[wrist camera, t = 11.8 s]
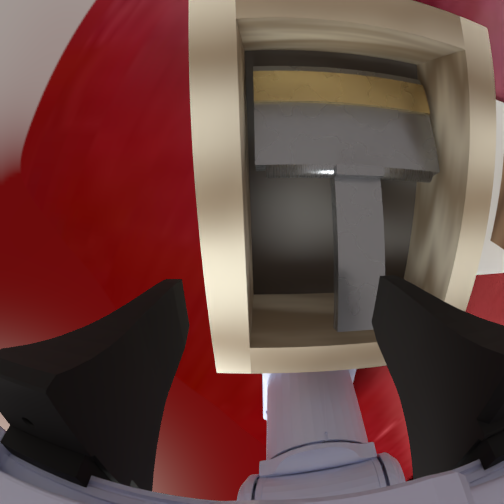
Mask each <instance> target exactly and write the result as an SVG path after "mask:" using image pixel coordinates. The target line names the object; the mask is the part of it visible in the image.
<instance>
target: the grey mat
mask: <svg viewBox="0 0 504 504" xmlns="http://www.w3.org/2000/svg"><path fill="white" fill-rule="evenodd" d="M503 160H504V103H503V102H501V101H498V100H496V154H495V169H494V180H493V189H492V198H491V205H490V212H489V218H488V224H487V229H486V235H485V240H484V244H483V249H482V253H481V258H480V262H479V266H478V270H477V274H476V275H482V274H495V273H504V249H502V248H501V247H499V246H498V245H496V244H495V243H493V242H492V241H490V240H491V235H492V231H493V226H494V221H495V216H496V211H497V205H498V199H499V193H500V186H501V178H502V170H503Z"/></svg>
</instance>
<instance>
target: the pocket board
mask: <svg viewBox="0 0 504 504" xmlns="http://www.w3.org/2000/svg"><path fill="white" fill-rule="evenodd" d="M253 66H309V67H328V68H341V69H351V70H360V71H368V72H376V73H383V74H389V75H395V76H401V77H406V78H412V79H417V80H420V83H421V85H423V87H424V91H425V94H426V98H427V102H428V106H429V110H430V115H429V117H430V121H431V126H432V131H433V135H434V141H435V146H436V151H437V157H438V163H439V170H440V172H439V173H438V174H436V175H434V176H433V178H432V180H431V182H430V183H425V182H412V181H396V180H380V181H381V192H382V205H383V220H384V241H385V276H388V275H395V276H398V277H400V278H402V279H405V280H406V281H408V282H410V283H412V284H414V285H416V286H417V287H419V288H421V289H423V290H424V291H426V292H428V293H430V294H432V295H433V296H435V297H437V298H439V299H441V300H442V301H444V302H446V303H448V304H450V305H452V306H454V307H456V308H458V309H460V310H462V311H466V308H467V305H468V301H469V298H470V295H471V292H472V288H473V285H474V281H475V278H476V274H477V270H478V266H479V262H480V258H481V253H482V249H483V244H484V240H485V235H486V229H487V224H488V218H489V212H490V205H491V198H492V189H493V180H494V169H495V154H496V96H495V81H494V71H493V62H492V54H491V47H490V41H489V35H488V30H487V28H486V27H484V26H482V25H479V24H477V23H475V22H473V21H470V20H468V19H465V18H463V17H460V16H458V15H455V14H453V13H450V12H447V11H444V10H441V9H439V8H436V7H433V6H429V5H426V4H423V3H420V2H416V1H413V0H189V81H190V108H191V129H192V147H193V162H194V177H195V190H196V202H197V214H198V225H199V235H200V245H201V255H202V264H203V273H204V282H205V290H206V299H207V307H208V314H209V322H210V329H211V337H212V344H213V351H214V358H215V364H216V371H217V373H302V372H321V371H336V370H348V369H359V368H369V367H377V366H386V365H387V364H386V362H385V360H384V358H383V355H382V353H381V351H380V348H379V346H378V344H377V340H376V337H375V333H374V330H361V331H346V332H337V331H336V330H335V329H334V328H333V321H334V250H333V219H332V199H331V183H330V178H266V171H256V168H255V130H254V87H253Z"/></svg>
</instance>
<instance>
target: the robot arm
mask: <svg viewBox="0 0 504 504" xmlns="http://www.w3.org/2000/svg"><path fill="white" fill-rule="evenodd" d="M371 322H372V326H373V330H374V333H375V337H376V340H377V344H378V346H379V348H380V351H381V353H382V355H383V358H384V360H385V362H386V364H387V367H388V369H389V371H390V374H391V376H392V378H393V381H394V383H395V386H396V388H397V391H398V394H399V397H400V400H401V404H402V408H403V412H404V416H405V421H406V425H407V431H408V436H409V442H410V449H411V457H412V467H413V480H411V481H407V482H406V481H405V478H404V474H403V471H402V469H401V466H400V464H399V462H398V461H397V460H396V459H395V458H394V457H392V456H390V455H389V454H388V453H386V452H384V453H380V454H377V453H376V449H375V445H374V442H369V443H368V440H367V436H366V432H365V428H364V424H363V420H362V416H361V412H360V408H359V405H358V401H357V397H356V394H355V390H354V386H353V381H354V377H355V373H356V369H348V370H336V371H321V372H302V373H262V378H263V418H264V419H265V420H267V460H265V461H260V467H259V474H256V475H251V476H249V477H248V478H247V480H246V481H245V482H244V483H243V484H242V486H241V487H240V490H239V493H238V498H237V501H212V500H203V499H194V498H187V497H180V496H174V495H168V494H162V493H157V492H152V485H153V472H154V464H155V456H156V449H157V442H158V437H159V431H160V425H161V420H162V416H163V411H164V406H165V402H166V399H167V396H168V392H169V390H170V387H171V384H172V381H173V378H174V376H175V373H176V371H177V368H178V365H179V362H180V360H181V357H182V354H183V351H184V348H185V344H186V340H187V335H188V330H189V321H188V315H187V309H186V303H185V297H184V291H183V284H182V279H166V280H163V281H161V282H160V283H158V284H156V285H155V286H153V287H152V288H150V289H149V290H147V291H146V292H144V293H143V294H141V295H140V296H138V297H137V298H135V299H134V300H132V301H131V302H129V303H127V304H126V305H124V306H122V307H121V308H119V309H117V310H116V311H114V312H112V313H111V314H109V315H107V316H105V317H103V318H101V319H100V320H98V321H95V322H93V323H92V324H89V325H87V326H85V327H82V328H80V329H77V330H75V331H72V332H69V333H67V334H64V335H62V336H59V337H55V338H52V339H49V340H45V341H41V342H37V343H33V344H28V345H23V346H17V347H11V348H3V349H1V350H0V412H1V414H2V415H3V416H4V418H5V419H6V420H7V421H8V423H9V424H10V427H9V429H8V430H7V431H5V430H4V429H3V428H2V427H1V426H0V504H504V326H503V325H500V324H497V323H494V322H490V321H487V320H484V319H482V318H479V317H477V316H474V315H472V314H469V313H467V312H465V311H462V310H460V309H458V308H456V307H454V306H452V305H450V304H448V303H446V302H444V301H442V300H441V299H439V298H437V297H435V296H433V295H432V294H430V293H428V292H426V291H424V290H423V289H421V288H419V287H417V286H416V285H414V284H412V283H410V282H408V281H406V280H405V279H402V278H400V277H398V276H395V275H388V276H380V278H379V284H378V290H377V296H376V301H375V306H374V312H373V317H372V321H371Z"/></svg>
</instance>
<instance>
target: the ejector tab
mask: <svg viewBox="0 0 504 504" xmlns="http://www.w3.org/2000/svg"><path fill="white" fill-rule="evenodd" d="M253 87H254V130H255V168H256V171H266V178H330V183H331V199H332V219H333V250H334V321H333V328H334V329H335V330H336V331H337V332H346V331H361V330H373V326H372V322H371V321H372V317H373V312H374V306H375V301H376V296H377V290H378V284H379V278H380V276H385V241H384V220H383V205H382V192H381V181H380V180H396V181H412V182H425V183H430V182H431V180H432V178H433V176H434V175H436V174H438V173H439V172H440V170H439V163H438V157H437V151H436V146H435V141H434V135H433V131H432V126H431V121H430V117H429V115H430V110H429V106H428V102H427V98H426V94H425V91H424V87H423V85H421V83H420V80H417V79H412V78H406V77H401V76H395V75H389V74H383V73H376V72H368V71H360V70H351V69H341V68H328V67H309V66H253Z"/></svg>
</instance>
